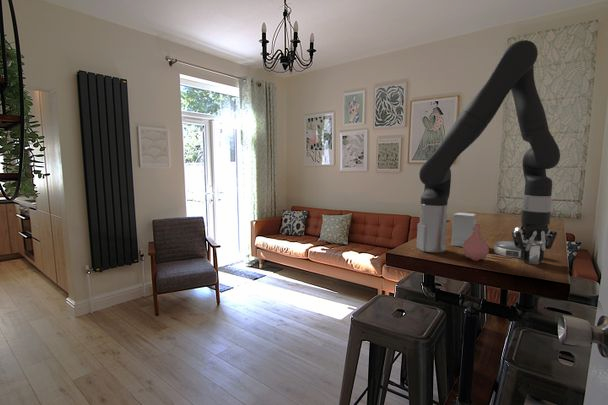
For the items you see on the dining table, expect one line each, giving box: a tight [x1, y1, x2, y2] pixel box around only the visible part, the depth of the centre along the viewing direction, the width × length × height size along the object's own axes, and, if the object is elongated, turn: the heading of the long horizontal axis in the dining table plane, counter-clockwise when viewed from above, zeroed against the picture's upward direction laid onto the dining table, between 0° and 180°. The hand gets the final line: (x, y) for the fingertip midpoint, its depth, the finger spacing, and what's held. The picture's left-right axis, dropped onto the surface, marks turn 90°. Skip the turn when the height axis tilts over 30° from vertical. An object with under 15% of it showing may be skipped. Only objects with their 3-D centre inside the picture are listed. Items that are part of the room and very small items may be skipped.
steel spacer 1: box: [513, 226, 523, 245], centre depth 113 cm, size 4×4×6 cm
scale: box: [493, 240, 521, 259], centre depth 113 cm, size 11×11×3 cm
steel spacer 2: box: [524, 243, 541, 265], centre depth 103 cm, size 4×4×6 cm
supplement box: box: [451, 212, 477, 248], centre depth 125 cm, size 7×7×13 cm
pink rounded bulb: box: [462, 223, 490, 262], centre depth 105 cm, size 8×8×12 cm
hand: (531, 261), depth 103 cm, fingers closed on steel spacer 2, 4 cm apart
